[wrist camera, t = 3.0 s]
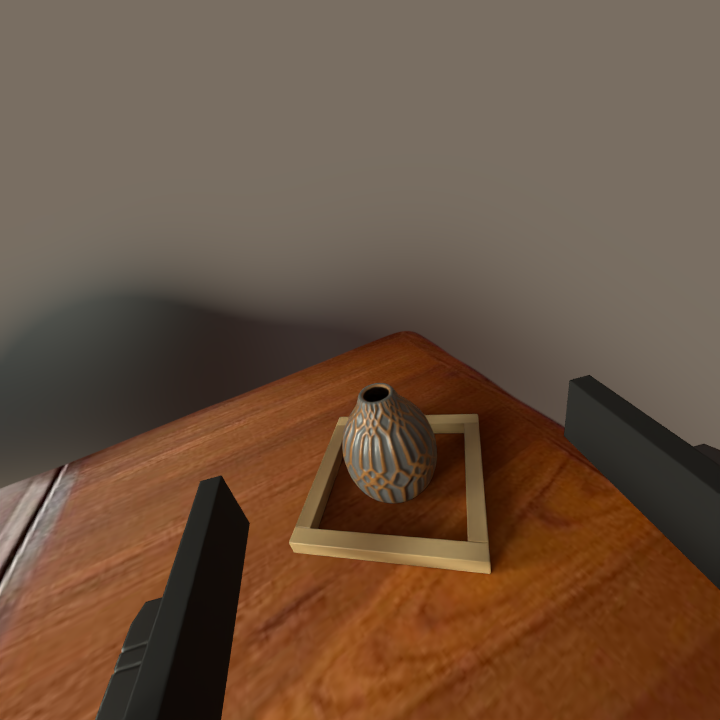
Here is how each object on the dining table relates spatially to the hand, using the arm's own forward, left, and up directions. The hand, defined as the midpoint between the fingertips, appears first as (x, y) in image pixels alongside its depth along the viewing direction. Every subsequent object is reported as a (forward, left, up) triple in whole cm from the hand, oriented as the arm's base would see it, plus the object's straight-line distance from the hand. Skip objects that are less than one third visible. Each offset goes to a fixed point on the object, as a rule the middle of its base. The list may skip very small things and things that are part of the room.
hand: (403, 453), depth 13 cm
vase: (+4, -9, -13) cm, 16 cm away
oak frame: (+4, -9, -13) cm, 16 cm away
